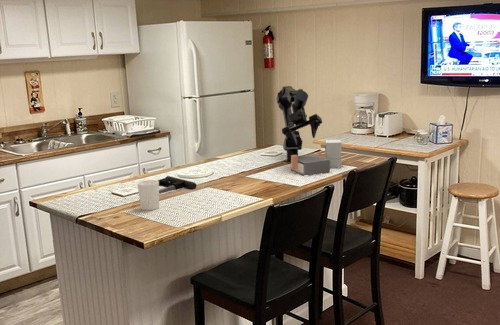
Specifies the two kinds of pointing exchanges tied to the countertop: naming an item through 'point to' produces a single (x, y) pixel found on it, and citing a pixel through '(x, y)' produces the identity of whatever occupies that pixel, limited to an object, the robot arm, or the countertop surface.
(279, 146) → the countertop surface
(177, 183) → the black handgun
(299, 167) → the tray
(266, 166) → the countertop surface
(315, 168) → the mailer sleeve
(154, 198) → the white cup
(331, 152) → the supplement box
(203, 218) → the countertop surface
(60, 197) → the countertop surface
